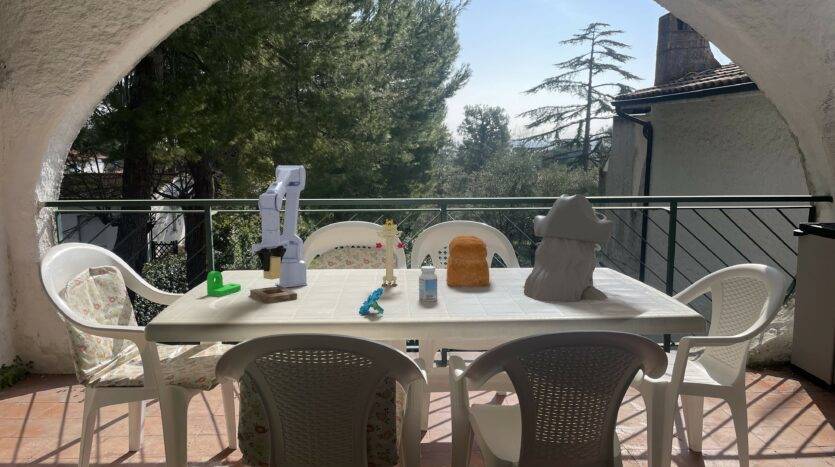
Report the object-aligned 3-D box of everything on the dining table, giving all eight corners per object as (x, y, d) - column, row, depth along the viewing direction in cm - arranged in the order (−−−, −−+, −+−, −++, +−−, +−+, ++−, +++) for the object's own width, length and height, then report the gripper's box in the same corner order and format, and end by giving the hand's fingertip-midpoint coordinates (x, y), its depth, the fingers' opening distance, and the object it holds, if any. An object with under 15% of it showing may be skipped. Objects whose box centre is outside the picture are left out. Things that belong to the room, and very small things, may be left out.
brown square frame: (281, 291, 209) (280, 286, 209) (297, 299, 198) (297, 293, 198) (250, 295, 203) (250, 289, 203) (265, 303, 192) (265, 297, 191)
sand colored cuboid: (272, 276, 202) (272, 256, 201) (281, 277, 200) (280, 257, 199) (263, 278, 199) (263, 257, 198) (271, 279, 197) (271, 258, 196)
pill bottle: (439, 299, 199) (439, 266, 198) (434, 303, 194) (434, 269, 192) (422, 297, 201) (422, 264, 200) (416, 301, 196) (416, 267, 194)
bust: (631, 294, 208) (636, 194, 204) (585, 312, 183) (590, 198, 179) (546, 281, 230) (549, 190, 226) (495, 295, 206) (497, 194, 201)
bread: (446, 288, 216) (447, 241, 214) (446, 275, 242) (446, 233, 240) (490, 289, 216) (491, 242, 214) (485, 275, 242) (485, 233, 240)
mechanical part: (221, 297, 201) (220, 273, 200) (207, 295, 204) (206, 272, 203) (244, 290, 212) (243, 268, 212) (230, 288, 215) (230, 266, 214)
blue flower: (356, 306, 184) (378, 282, 185) (370, 318, 186) (392, 295, 186) (358, 315, 174) (381, 290, 174) (373, 328, 175) (396, 303, 175)
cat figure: (375, 287, 217) (375, 219, 214) (376, 282, 225) (376, 217, 222) (403, 287, 217) (403, 219, 214) (403, 282, 226) (403, 217, 223)
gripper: (279, 226, 206) (280, 265, 207) (245, 230, 194) (246, 271, 195) (293, 228, 202) (294, 267, 203) (259, 232, 190) (260, 274, 191)
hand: (271, 270), depth 199 cm, fingers closed on sand colored cuboid, 4 cm apart
